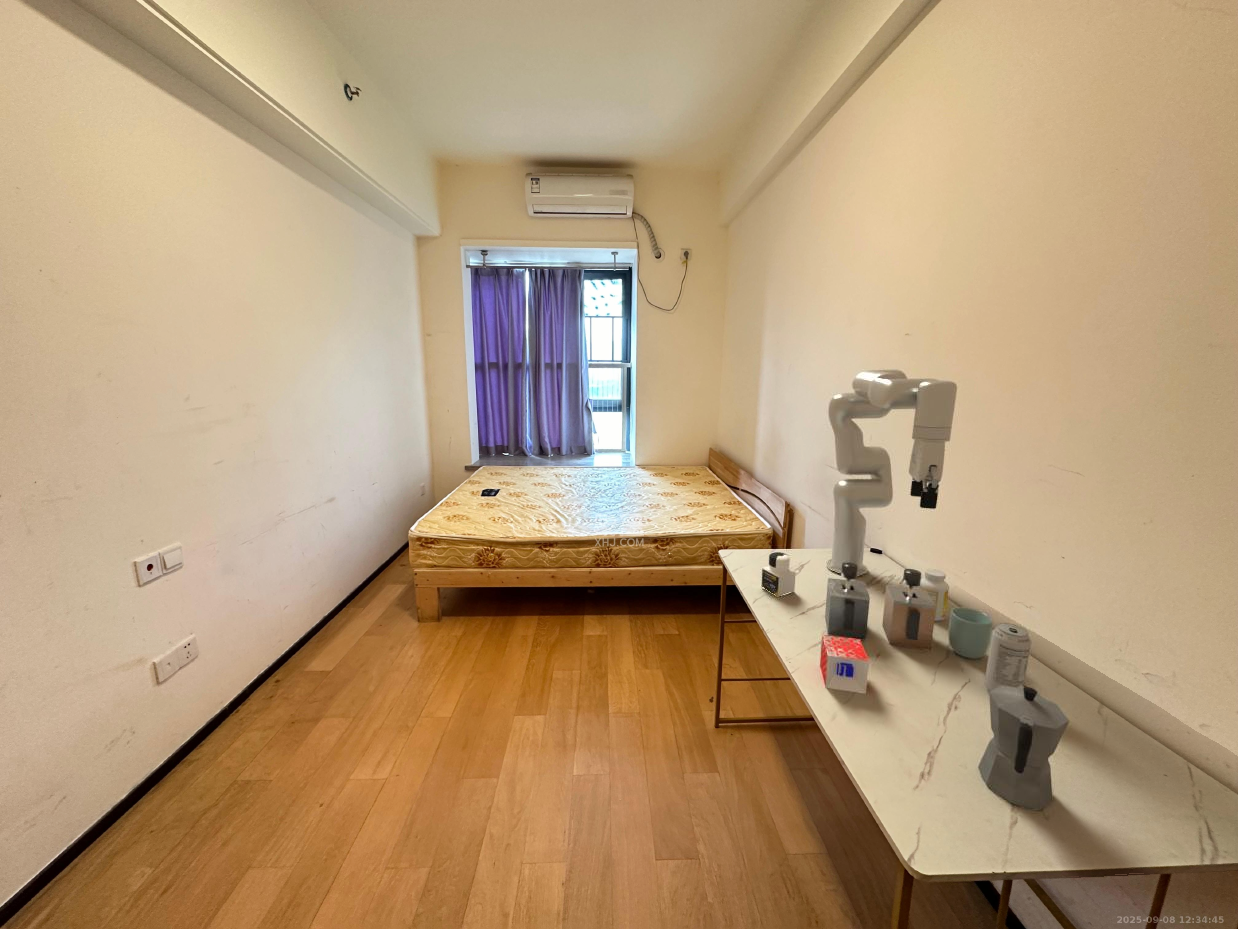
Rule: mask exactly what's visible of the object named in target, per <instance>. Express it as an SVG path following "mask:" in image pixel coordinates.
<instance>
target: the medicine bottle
mask: <svg viewBox="0 0 1238 929" xmlns="http://www.w3.org/2000/svg"><path fill="white" fill-rule="evenodd" d="M790 560H791V557H790V555H788V554H786V553H784V552H779V551H777V552H776V551H775V552H772V553H769V556H768V566H763V567H762V569H761V570H762V571H761V588H762V587H764V588H765V589H767V590H768V591H770V592H771V593H773V594H775V595H776V596H781V595H783V594H786V593H789V592H793V591H795V588H796V574H797V572H796V571H795V570H793V569H791V568H790V562H791V561H790ZM795 592H796V591H795ZM771 593H770V594H771ZM776 596H775V597H776ZM781 597H782V596H781Z"/></svg>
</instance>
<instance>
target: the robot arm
mask: <svg viewBox="0 0 1238 929" xmlns="http://www.w3.org/2000/svg"><path fill="white" fill-rule="evenodd" d="M852 380H853V381H852V382H851V383H852V384H851V386H852V390H853V392H845V393H838V394H837V395H835V396H833V397H832V398H831V399H830V401H829V404H828V410H827V411H828V420H829V422H830V425H831V428H832V430H833V435H834V445H835V446H834V447H835V459H836V461H835V462H836V463H835V464H836V468H837V471H838V472H839V473H840V474H842V475H844V476H845V475H846V476H847V475H848V476H870V478H865V479H864V478H846V479H841V480H839V481H837V482H836V483H835V484H834V486H833V491H832V492H833V501H834V523H833V538H832V539H833V540H832V551H831V552H832V553H831V559H828V560H827V561H826V564H827V566H828V567H829V568H830V569H832V570H834V571H835V572H838V573H841V570H842V563H844V562H850V563H854V564H856V565H857V566H858V568H857V577H859V576H858V575H862V576H864V575H863V574H865V573H866V574H867V573H868V567H867V566H866V565H865V564H864V556H865V555H864V554H865V553H864V552H865V541H866V532H867V520H866V517H865V516H864V514H863V513H862V512H861V510H860V509H869V508H870V509H871V508H872V509H873V508H874V509H876V508H880V509H881V508H886V507H889V506H890V505H891V504H892V501H893V497H894V496H893V495H894V490H893V476H892V464H891V458H890V456H889V455H890V454H889V453H888V452H887V450H886V449H885V448H883V447H880V446H865V444H864V443H865V442H864V434H863V431H862V429H861V428H860V426H859V425H858V424H857V423H856V422H855V421H854V419H855V420H856V419H860V420H861V419H880V418H881V419H882V418H884V417H887V415H888V414H890V412H891V411H892V410H915V411H914V419H913V426H912V435H911V439H912V440H913V446H912V450H911V454H910V460H909V467H908V473H909V475H910V476H911V478H912V480H911V485H910V493H909V495H910V496H911V497H914V498H915V497H917V498H918V497H919V498H920V500H919V507H920V509H929V510H930V509H931V510H932V509H933V510H934V509H936V508H937V504H938V499H939V498H938V497H939V487H940V484H939V483H940V482H941V480H942V477H943V473H944V463H945V451H946V442H947V443H948V442H950V441H951V437H952V436H951V434H952V426H953V419H954V413H955V407H956V399H957V392H958V386H957V383H955V381H951V380H939V379H936V378H908V377H907V375H906V374H905V373H904V372H903V371H901V370H900V369H875V370H874V369H871V370H864V371H861V372H860V373H858V374H857V375H856V376H854V378H853V379H852ZM827 566H826V567H827ZM835 572H834V573H835ZM866 574H865V575H866Z"/></svg>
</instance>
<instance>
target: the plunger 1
mask: <svg viewBox="0 0 1238 929" xmlns="http://www.w3.org/2000/svg"><path fill="white" fill-rule="evenodd" d="M857 568H858V566H857V565H856V564H854V563H850V562H844V563H842V570H841V574H840V575H841V577H842V578H844V579H845V580H846V589H847V590H850V582H851V581H852V580H856V579H857V578H858V576H857Z"/></svg>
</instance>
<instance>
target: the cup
mask: <svg viewBox="0 0 1238 929" xmlns="http://www.w3.org/2000/svg"><path fill="white" fill-rule="evenodd" d="M949 614H950V615H949V620H948V632H947V633H948V634H947V636H948V637H947V638H948V644H949V647H950V648H951V649H952V650H953V651H954V652H955V653H956V654H958V655H959V656H961V657H964V658H967V659H980V658H982V657H984V656H985V654H987V651H988V649H989V648H990V644H991V638H992V632H993V624H994V621H993V619H992V617H990V615H989V614H987V613H985V612H983V611H981V610H978V609H975V608H971V607H964V606H960V607H959V606H957V607H953V608H951V610H950V613H949Z"/></svg>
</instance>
